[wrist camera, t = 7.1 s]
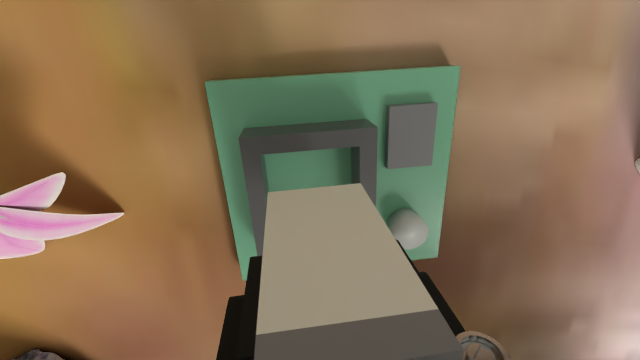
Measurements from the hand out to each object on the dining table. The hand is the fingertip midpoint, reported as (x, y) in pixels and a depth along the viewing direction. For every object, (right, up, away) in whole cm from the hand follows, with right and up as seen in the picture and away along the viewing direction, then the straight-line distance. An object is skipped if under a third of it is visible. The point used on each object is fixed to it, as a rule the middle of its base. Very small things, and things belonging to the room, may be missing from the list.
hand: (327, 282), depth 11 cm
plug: (0, +1, +3) cm, 3 cm away
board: (+1, +4, +10) cm, 11 cm away
